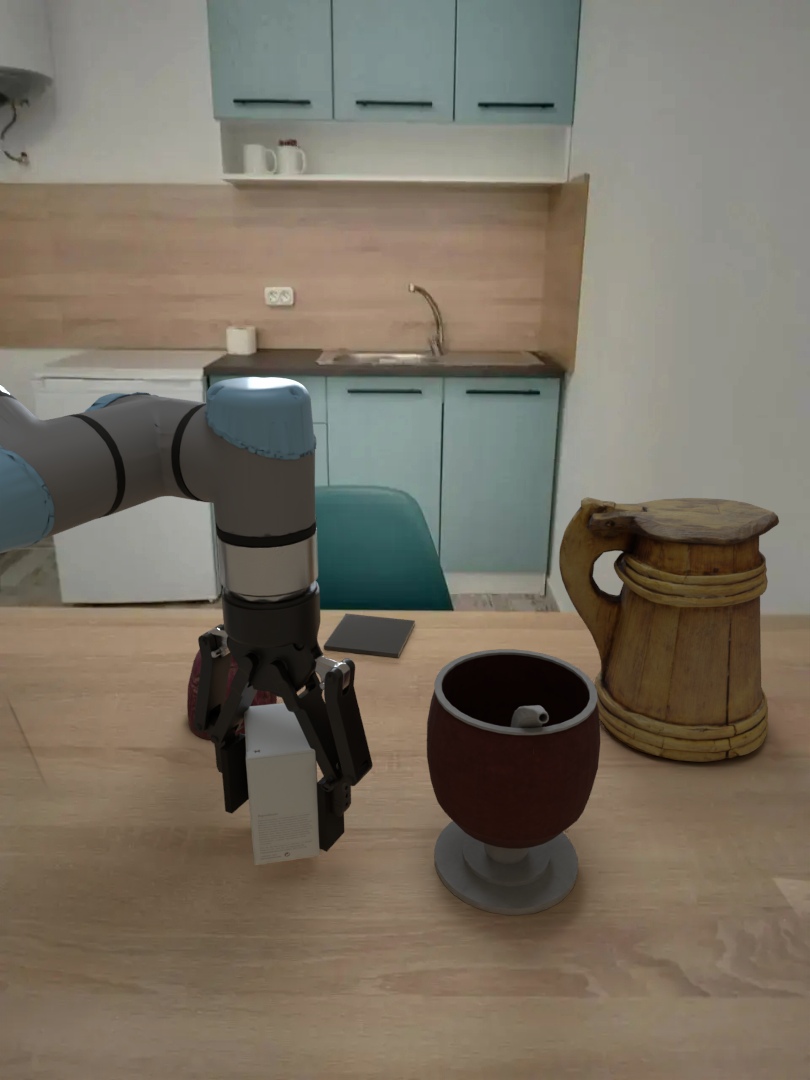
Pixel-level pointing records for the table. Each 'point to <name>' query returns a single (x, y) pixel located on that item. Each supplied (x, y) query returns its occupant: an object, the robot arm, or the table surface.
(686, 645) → the tankard
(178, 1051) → the table surface
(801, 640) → the table surface
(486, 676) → the mate gourd
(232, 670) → the vegetable
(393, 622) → the slate coaster
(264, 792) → the small box
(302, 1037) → the table surface
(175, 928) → the table surface
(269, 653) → the robot arm
